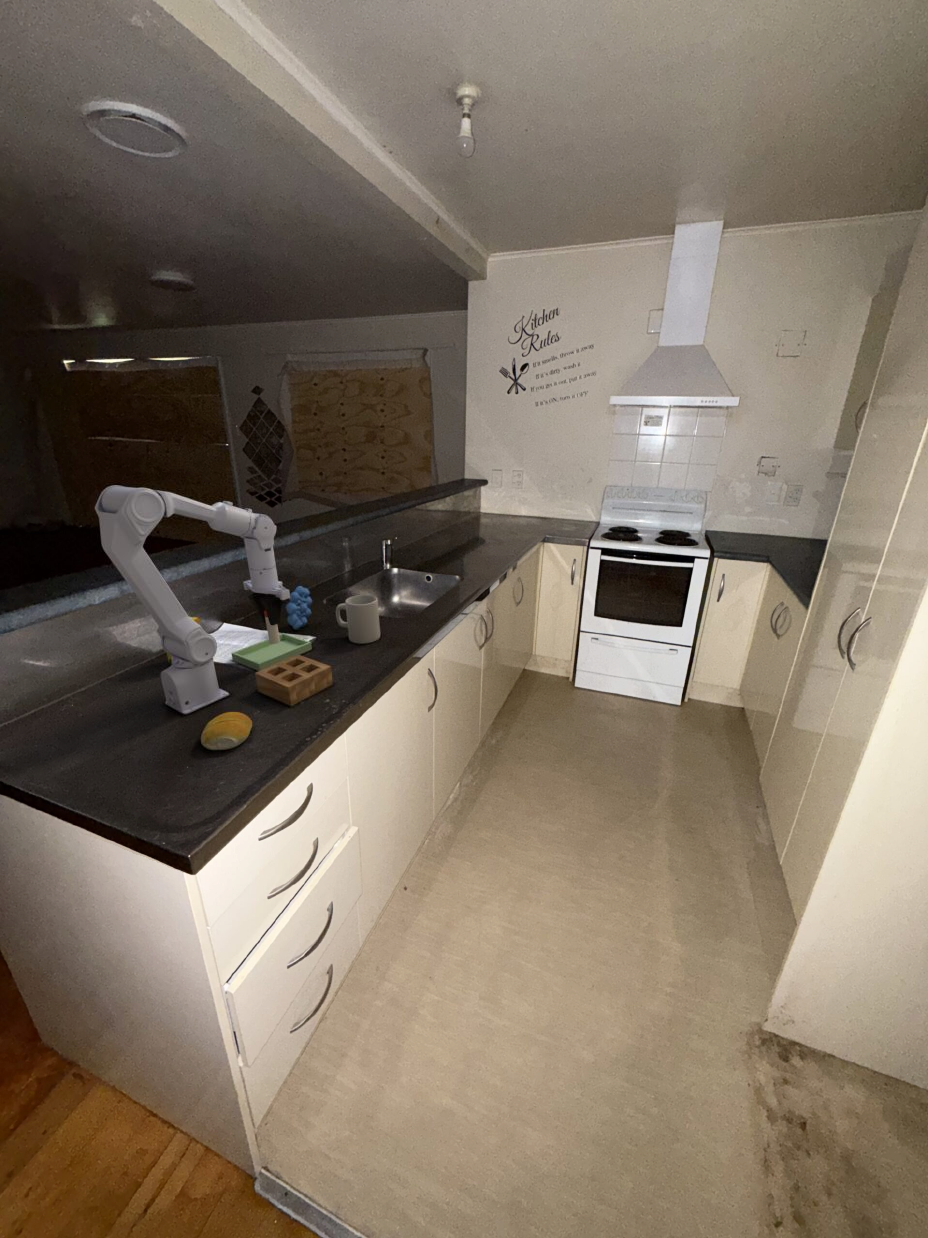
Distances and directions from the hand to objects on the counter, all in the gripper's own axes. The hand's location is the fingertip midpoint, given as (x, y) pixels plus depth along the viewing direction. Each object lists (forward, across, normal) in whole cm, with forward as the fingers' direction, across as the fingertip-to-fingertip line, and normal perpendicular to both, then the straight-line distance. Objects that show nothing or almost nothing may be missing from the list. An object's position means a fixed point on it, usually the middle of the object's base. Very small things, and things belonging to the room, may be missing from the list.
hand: (271, 622), depth 114 cm
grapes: (+11, +15, -18) cm, 26 cm away
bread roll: (+11, -19, +25) cm, 33 cm away
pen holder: (+10, -14, +6) cm, 18 cm away
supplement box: (+11, +19, +12) cm, 25 cm away
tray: (+10, +5, -2) cm, 12 cm away
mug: (+11, -5, -22) cm, 25 cm away
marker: (+5, 0, 0) cm, 5 cm away
